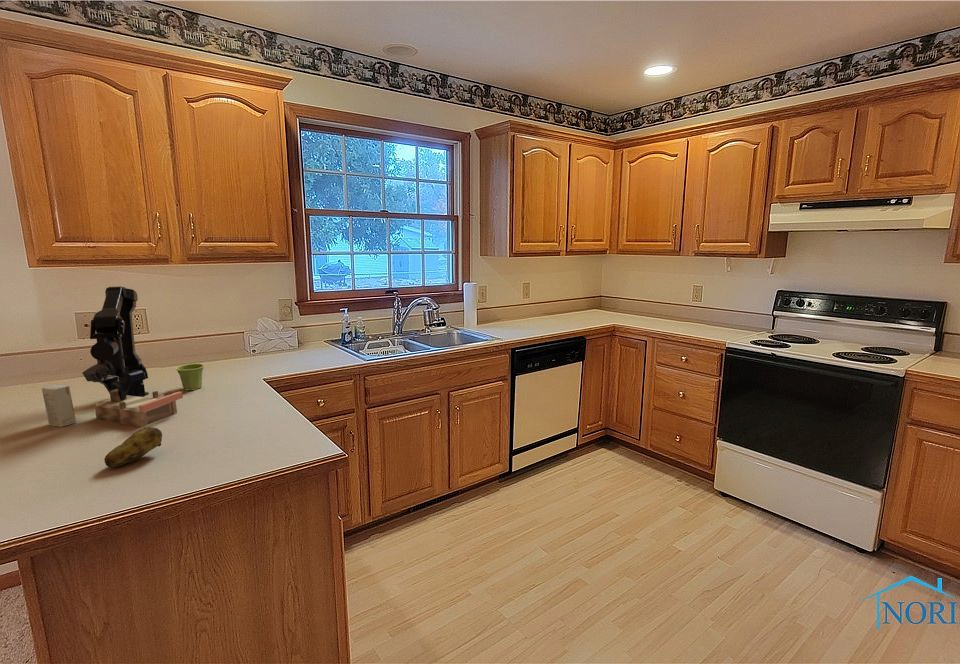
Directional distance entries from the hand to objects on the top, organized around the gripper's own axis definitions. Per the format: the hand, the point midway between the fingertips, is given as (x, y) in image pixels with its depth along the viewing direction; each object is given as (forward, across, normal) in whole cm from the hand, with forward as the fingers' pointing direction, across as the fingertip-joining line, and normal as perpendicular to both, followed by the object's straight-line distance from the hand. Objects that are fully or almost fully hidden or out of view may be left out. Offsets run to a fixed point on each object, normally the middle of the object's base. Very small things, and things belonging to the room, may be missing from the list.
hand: (118, 399), depth 156 cm
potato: (+5, +36, -24) cm, 44 cm away
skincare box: (+5, -10, -11) cm, 16 cm away
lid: (+1, +6, 0) cm, 6 cm away
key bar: (0, +18, 0) cm, 18 cm away
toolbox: (+5, +6, 0) cm, 8 cm away
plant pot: (+6, -1, +29) cm, 30 cm away
